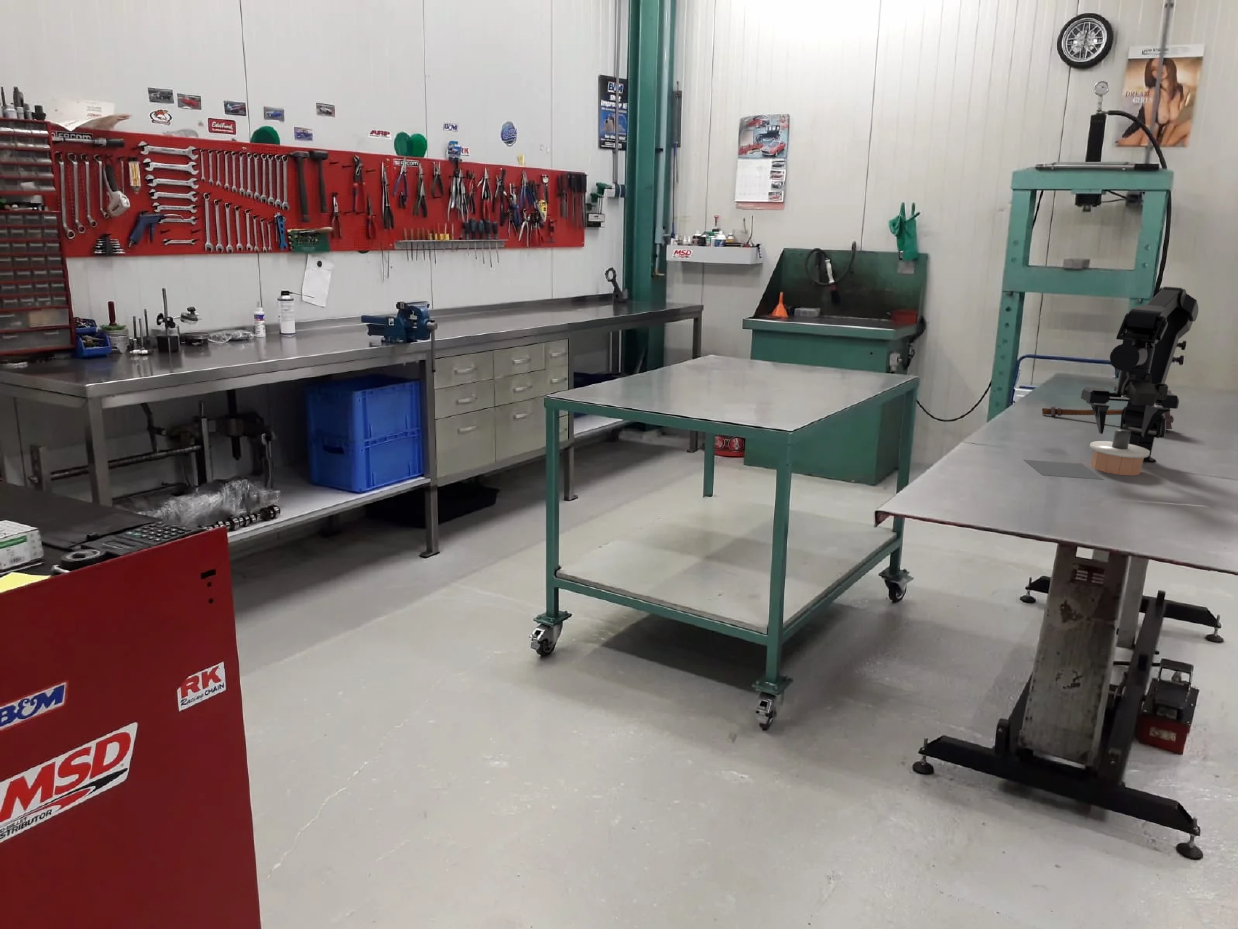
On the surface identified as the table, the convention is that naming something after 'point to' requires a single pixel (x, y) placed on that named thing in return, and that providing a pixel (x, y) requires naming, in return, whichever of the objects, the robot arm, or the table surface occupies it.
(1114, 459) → the bowl
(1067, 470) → the mat
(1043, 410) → the hammer
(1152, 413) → the robot arm
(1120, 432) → the lid
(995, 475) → the table surface
